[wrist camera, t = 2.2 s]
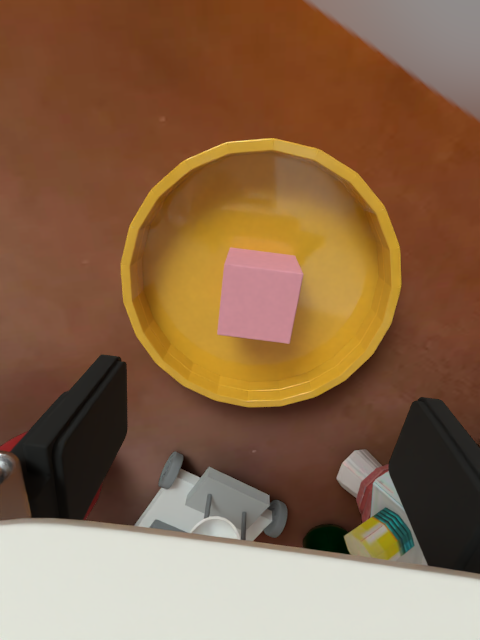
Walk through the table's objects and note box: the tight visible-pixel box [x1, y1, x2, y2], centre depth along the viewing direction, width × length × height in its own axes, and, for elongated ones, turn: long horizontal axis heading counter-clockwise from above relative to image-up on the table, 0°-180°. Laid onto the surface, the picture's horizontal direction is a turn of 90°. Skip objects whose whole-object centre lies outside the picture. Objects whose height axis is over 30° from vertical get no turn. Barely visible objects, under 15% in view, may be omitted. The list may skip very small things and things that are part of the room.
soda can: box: [302, 524, 351, 555], centre depth 29 cm, size 5×5×12 cm
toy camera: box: [336, 449, 428, 566], centre depth 27 cm, size 11×9×20 cm
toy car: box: [134, 452, 287, 541], centre depth 29 cm, size 18×10×12 cm
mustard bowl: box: [121, 138, 401, 407], centre depth 23 cm, size 17×17×3 cm
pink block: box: [217, 248, 303, 344], centre depth 22 cm, size 4×4×4 cm
